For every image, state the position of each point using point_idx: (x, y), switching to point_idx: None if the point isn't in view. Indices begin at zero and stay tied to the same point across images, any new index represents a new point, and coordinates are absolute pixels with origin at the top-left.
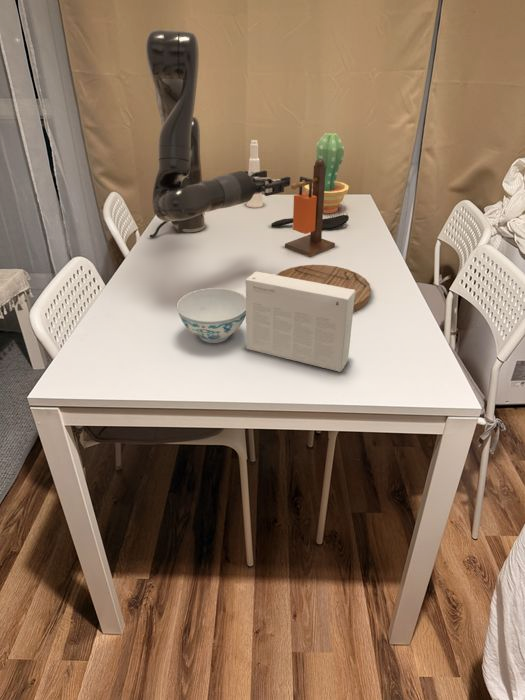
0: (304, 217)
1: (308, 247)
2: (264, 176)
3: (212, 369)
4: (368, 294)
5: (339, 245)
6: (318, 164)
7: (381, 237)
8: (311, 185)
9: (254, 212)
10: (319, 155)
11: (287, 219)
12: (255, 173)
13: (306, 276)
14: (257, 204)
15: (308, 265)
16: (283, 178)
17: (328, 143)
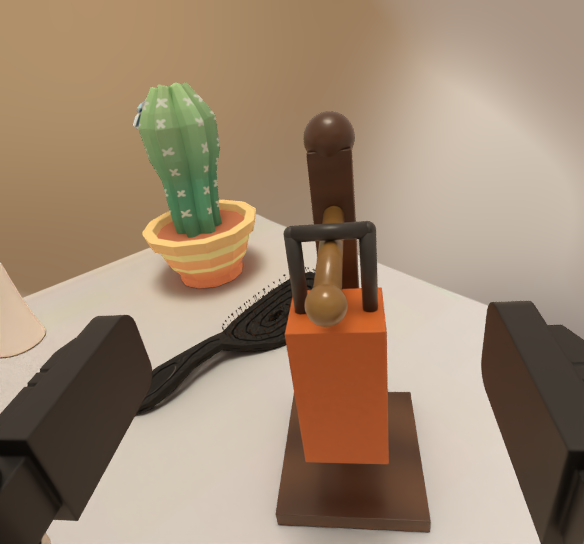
0: (375, 409)
1: (377, 479)
2: (130, 378)
3: None
4: None
5: (409, 385)
6: (338, 139)
7: (437, 295)
8: (375, 253)
9: (33, 372)
10: (162, 149)
11: (171, 364)
12: (5, 446)
13: None
14: (29, 339)
15: None
16: (571, 376)
17: (174, 110)
